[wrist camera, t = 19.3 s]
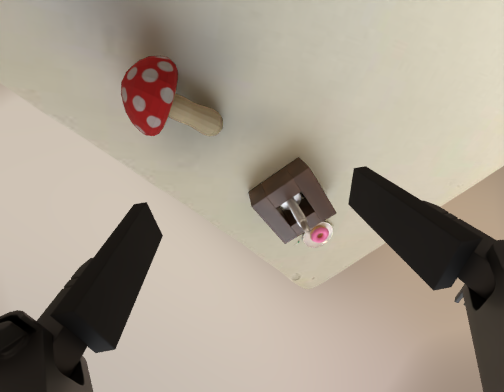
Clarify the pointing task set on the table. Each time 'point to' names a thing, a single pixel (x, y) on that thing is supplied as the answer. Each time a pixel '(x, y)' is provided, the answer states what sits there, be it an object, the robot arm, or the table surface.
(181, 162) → the table surface
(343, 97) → the table surface
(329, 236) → the donut
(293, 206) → the screw
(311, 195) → the holder
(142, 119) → the decorative mushroom
